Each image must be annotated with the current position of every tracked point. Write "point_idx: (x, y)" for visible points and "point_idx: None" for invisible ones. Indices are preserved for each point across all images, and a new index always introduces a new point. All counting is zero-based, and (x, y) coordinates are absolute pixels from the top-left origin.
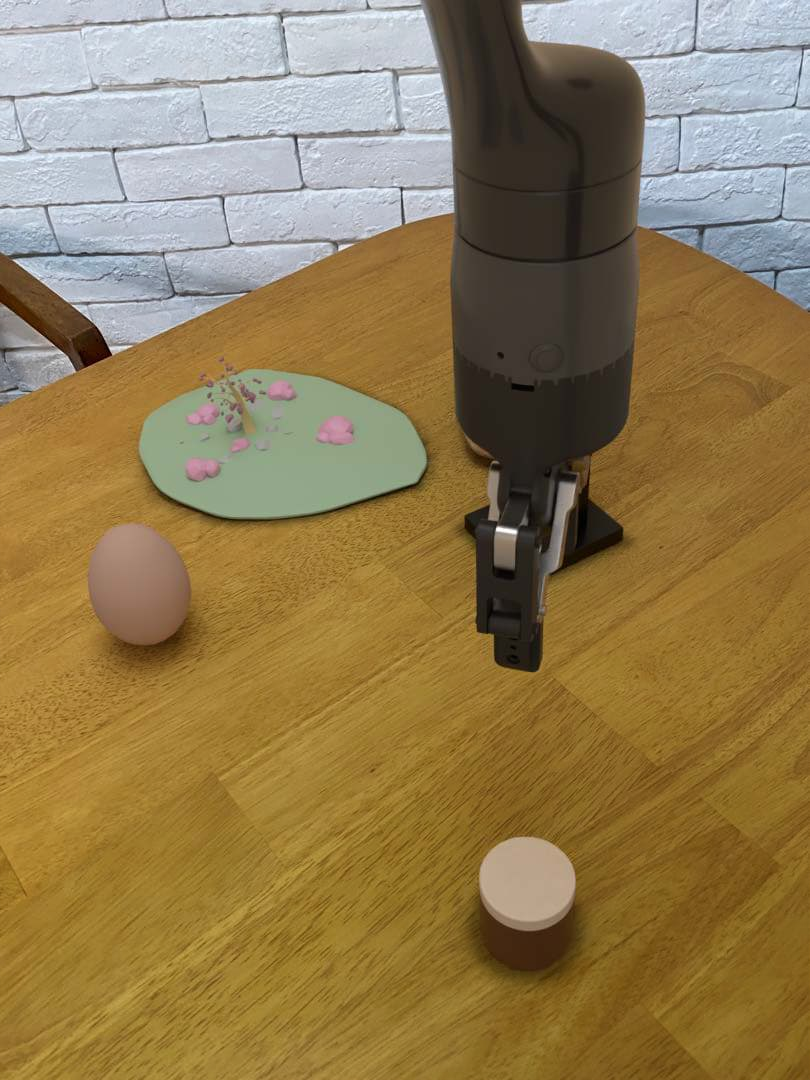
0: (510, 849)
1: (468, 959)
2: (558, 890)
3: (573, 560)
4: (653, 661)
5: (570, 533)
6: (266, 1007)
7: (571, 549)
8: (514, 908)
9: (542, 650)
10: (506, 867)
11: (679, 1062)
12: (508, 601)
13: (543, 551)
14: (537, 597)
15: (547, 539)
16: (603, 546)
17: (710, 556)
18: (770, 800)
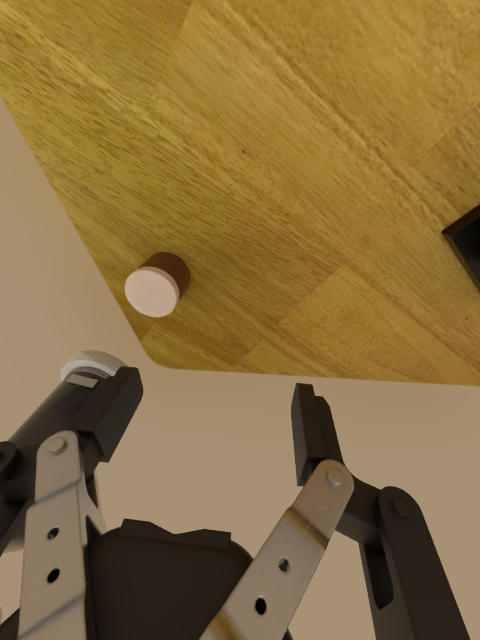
0: (163, 284)
1: (141, 249)
2: (149, 310)
3: (464, 266)
4: (355, 318)
5: (293, 433)
6: (60, 137)
7: (291, 414)
8: (130, 291)
9: (136, 408)
10: (151, 284)
11: (138, 334)
12: (30, 486)
13: (477, 246)
14: (13, 535)
15: (296, 404)
16: (476, 285)
17: (448, 344)
18: (266, 364)
